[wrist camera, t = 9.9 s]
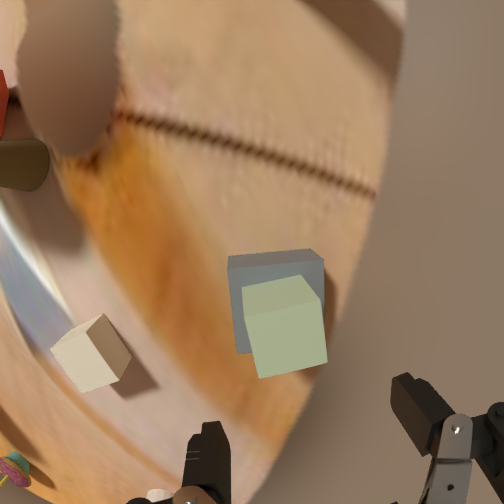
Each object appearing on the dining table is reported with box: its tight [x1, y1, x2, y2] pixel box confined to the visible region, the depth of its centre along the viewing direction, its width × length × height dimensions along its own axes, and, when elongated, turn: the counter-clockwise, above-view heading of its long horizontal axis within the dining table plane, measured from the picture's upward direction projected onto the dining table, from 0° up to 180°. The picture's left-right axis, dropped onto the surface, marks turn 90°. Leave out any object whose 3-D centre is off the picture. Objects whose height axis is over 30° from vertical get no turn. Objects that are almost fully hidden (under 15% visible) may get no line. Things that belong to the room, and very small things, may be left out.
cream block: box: [50, 313, 132, 393], centre depth 28 cm, size 6×6×5 cm
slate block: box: [227, 249, 324, 354], centre depth 28 cm, size 8×8×5 cm
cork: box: [0, 139, 49, 191], centre depth 20 cm, size 6×6×11 cm
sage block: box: [242, 275, 328, 379], centre depth 22 cm, size 5×5×6 cm
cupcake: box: [0, 452, 31, 488], centre depth 29 cm, size 9×8×12 cm
